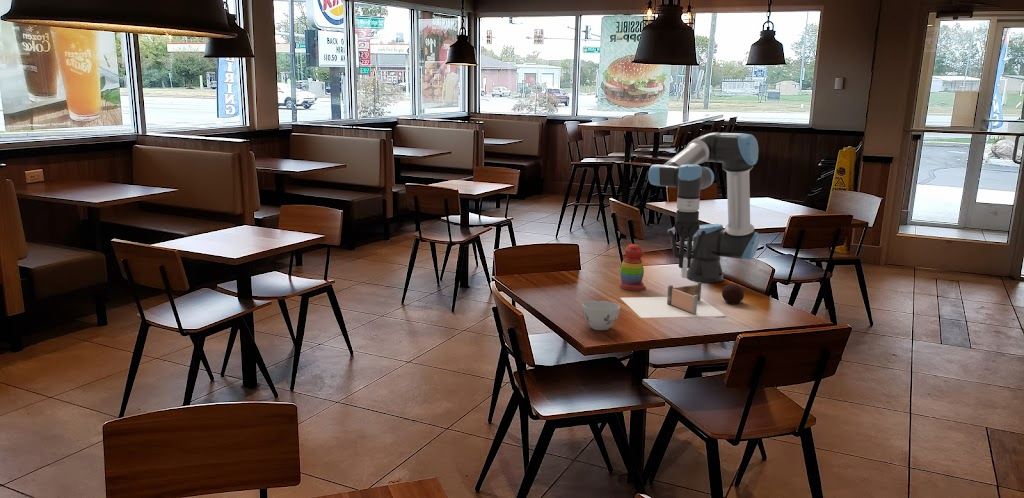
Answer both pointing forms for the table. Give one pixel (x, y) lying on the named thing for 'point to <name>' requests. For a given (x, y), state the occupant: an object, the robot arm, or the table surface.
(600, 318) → the teacup
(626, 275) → the stacking bear
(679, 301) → the fence panel
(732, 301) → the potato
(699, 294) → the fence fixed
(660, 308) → the board
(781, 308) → the table surface
